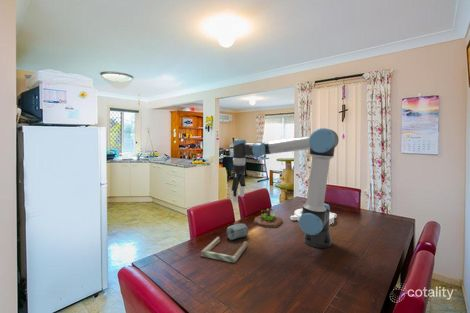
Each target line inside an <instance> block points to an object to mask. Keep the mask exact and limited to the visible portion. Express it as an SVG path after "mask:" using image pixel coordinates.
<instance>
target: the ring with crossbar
mask: <svg viewBox="0 0 470 313" xmlns="http://www.w3.org/2000/svg"><path fill="white" fill-rule="evenodd" d="M302 209H303V207H301V208H298V209H295V210H294V211H293V212H294V213H293V215H290V217H289V218H290V220H292V221H296V220H297V221H296V222H298V221H299V218H300V216H301V215H302ZM337 216H338V214H336V213H334V212H331V211H330V215H329V226H331V225H330V224H332V223H333V224H335V218H337ZM333 224H332V225H333Z"/></svg>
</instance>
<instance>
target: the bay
mask: <svg viewBox="0 0 470 313" xmlns="http://www.w3.org/2000/svg"><path fill="white" fill-rule="evenodd" d="M220 241H221V239H220V236H216V237H215V238H214V239H213V240H212V241H211V242H210V243H209V244H207V245H206V246H205V247H204V248H203V249H202V250H201V251H200V252H201V253H200V255H201V256H200V257H204V258H209V259H214V260H217V261H224V262H228V263H234V264H235V263H237V261H238V259H239V258H240V257H241V255H242V254H243V253H244V251H245V250H246V249H247V248H248V241H243V243H242V244H241V245H240V247H239V248H238V249H237V250H236V252H235V253H234V254H233V255H231V254H230V255H229V254H225V253H221V252H215V251H212V250H213V249H214V248H215V247H216V246H217V245H218V244H219V243H220Z"/></svg>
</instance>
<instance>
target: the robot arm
mask: <svg viewBox="0 0 470 313" xmlns="http://www.w3.org/2000/svg"><path fill="white" fill-rule="evenodd" d="M339 141H340V140H339V136H338V133H336V131H334V130H332V129H329V128H325V127H324V128H322V127H321V128H317V129H315V130H314V131H312V133H310V135H306V136H299V137H293V138H287V139H280V140H279V139H278V140H274V141H267V142H247V141H246V139H240V138H239V139H237V138H235V139H234V140H233V146H232V148H233V149H232V150H233V152H232V156H233V158H232V164H233V165H232V171H233V172H235V173H233V178H232V179H233V180H232V184H231V185H232V186H231V191H232V202H235V203H237V202H239V201H238V200H239V198H238V197H243V198H244V197H245V187H246V178H245V171H246V156H253V157H263V156H265V155H271V154H272V155H273V154H280V153H290V152H299V151H306V150H309V155H310V157H311V163H310V164H311V165H310V170H309V171H310V172H309V180H308V187H307V188H308V189H307V194H306V201H305V203H303V204H302V208H303V209H302V208H301V209H302V215H301V216H300V218H299V222H298V226H299V228H300V229H301V230H302V232H303V233H305V234H304V236H303V242H304V243H305V244H306V245H308V246H311V247H313V248H319V249H327V248H330V247H332V242H333V240H332V237H331V232H330V231H329V230H330V225H329V215H330V212H331V208H330V204H327V203H325V197H326V192H327V184H328V183H327V182H328V176H329V170H330V161H331V160H332V159H333V158H334V157H335V156H334V155H335V148H336V147H337V146H338V145H339ZM239 185H240V186H239ZM238 188H239V190H238ZM238 193H239V194H238ZM238 195H239V196H238Z"/></svg>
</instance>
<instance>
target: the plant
mask: <svg viewBox="0 0 470 313" xmlns="http://www.w3.org/2000/svg"><path fill="white" fill-rule="evenodd" d="M260 211H261V215H258V216H255V217H254V220H253V224H254V225H256V226H258V227H261V226H262V227H261V228H267V227H268V228H272V229H276V228H278V227H279V226H280V225H282V224H284V222H283V219H282V218H281V217H280V216H275V215H276V214H275V213H274V214H272V213H271V212H273V209H272V208H269V207H268V208H266V210H265V209H261V210H260ZM262 212H264V213H262Z"/></svg>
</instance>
